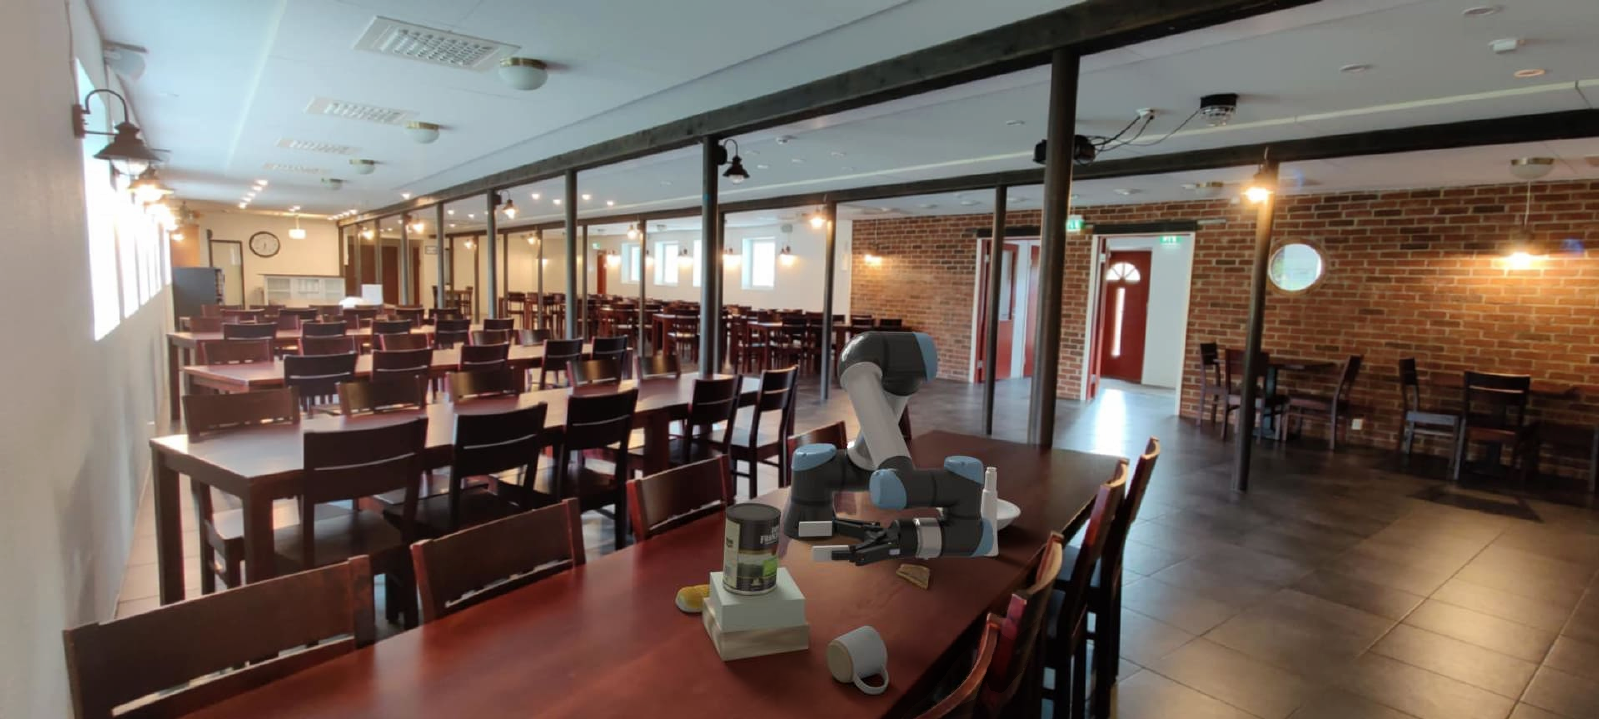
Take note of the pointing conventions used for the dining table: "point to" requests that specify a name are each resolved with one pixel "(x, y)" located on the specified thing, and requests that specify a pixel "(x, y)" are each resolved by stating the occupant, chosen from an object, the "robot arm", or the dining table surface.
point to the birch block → (753, 638)
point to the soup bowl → (1003, 513)
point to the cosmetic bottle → (990, 505)
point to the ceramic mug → (858, 658)
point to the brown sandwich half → (915, 574)
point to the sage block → (757, 605)
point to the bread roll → (692, 598)
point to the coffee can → (751, 548)
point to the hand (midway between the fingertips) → (805, 541)
